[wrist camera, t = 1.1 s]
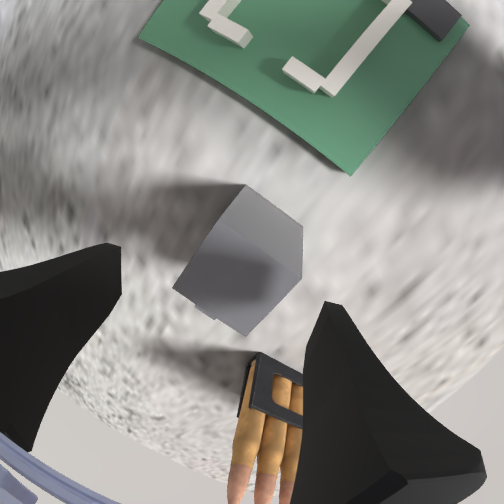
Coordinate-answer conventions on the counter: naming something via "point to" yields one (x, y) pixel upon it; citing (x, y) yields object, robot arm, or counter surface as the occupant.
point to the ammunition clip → (267, 431)
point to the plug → (245, 263)
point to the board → (315, 60)
